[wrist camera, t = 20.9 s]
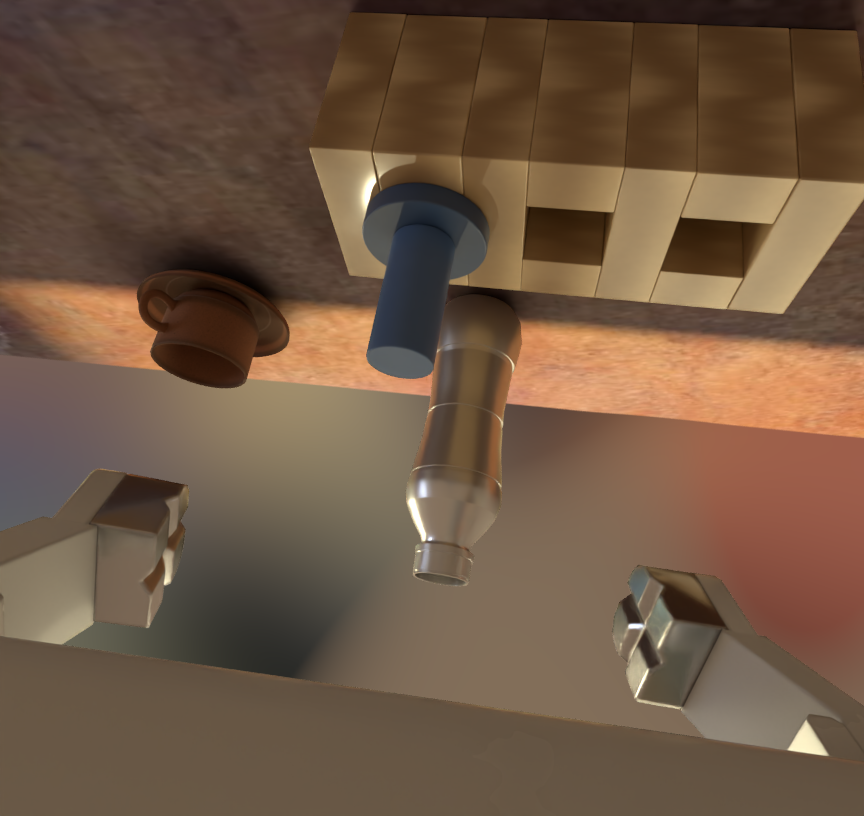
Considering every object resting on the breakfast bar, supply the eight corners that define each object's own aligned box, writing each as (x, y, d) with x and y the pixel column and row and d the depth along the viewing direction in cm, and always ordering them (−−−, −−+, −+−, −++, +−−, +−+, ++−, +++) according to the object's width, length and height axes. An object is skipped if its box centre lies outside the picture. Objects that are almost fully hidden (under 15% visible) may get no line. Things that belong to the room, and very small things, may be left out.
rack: (858, 29, 28) (876, 183, 25) (777, 183, 36) (783, 314, 33) (349, 11, 31) (308, 146, 28) (379, 157, 39) (349, 275, 36)
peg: (507, 80, 31) (465, 335, 25) (505, 172, 36) (469, 400, 30) (383, 74, 31) (318, 320, 26) (398, 165, 36) (346, 386, 31)
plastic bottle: (517, 280, 47) (478, 572, 39) (532, 332, 53) (501, 595, 45) (427, 283, 49) (373, 561, 42) (451, 332, 55) (408, 584, 47)
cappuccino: (127, 294, 58) (102, 359, 55) (170, 232, 48) (142, 306, 46) (259, 351, 64) (241, 412, 61) (320, 306, 54) (302, 375, 52)
